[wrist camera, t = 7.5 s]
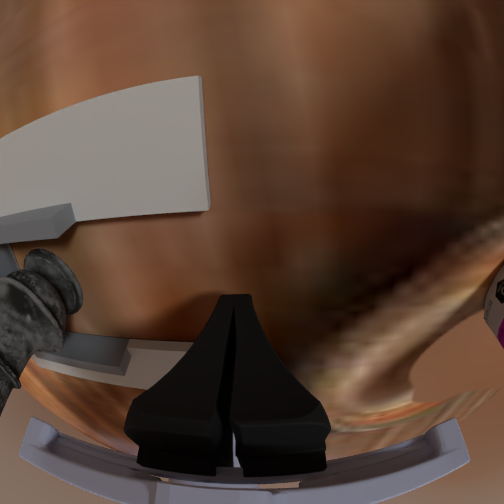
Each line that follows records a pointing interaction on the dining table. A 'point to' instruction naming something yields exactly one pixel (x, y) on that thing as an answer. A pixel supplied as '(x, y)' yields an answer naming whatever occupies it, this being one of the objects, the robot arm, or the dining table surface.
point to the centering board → (106, 197)
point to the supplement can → (496, 306)
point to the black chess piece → (34, 313)
